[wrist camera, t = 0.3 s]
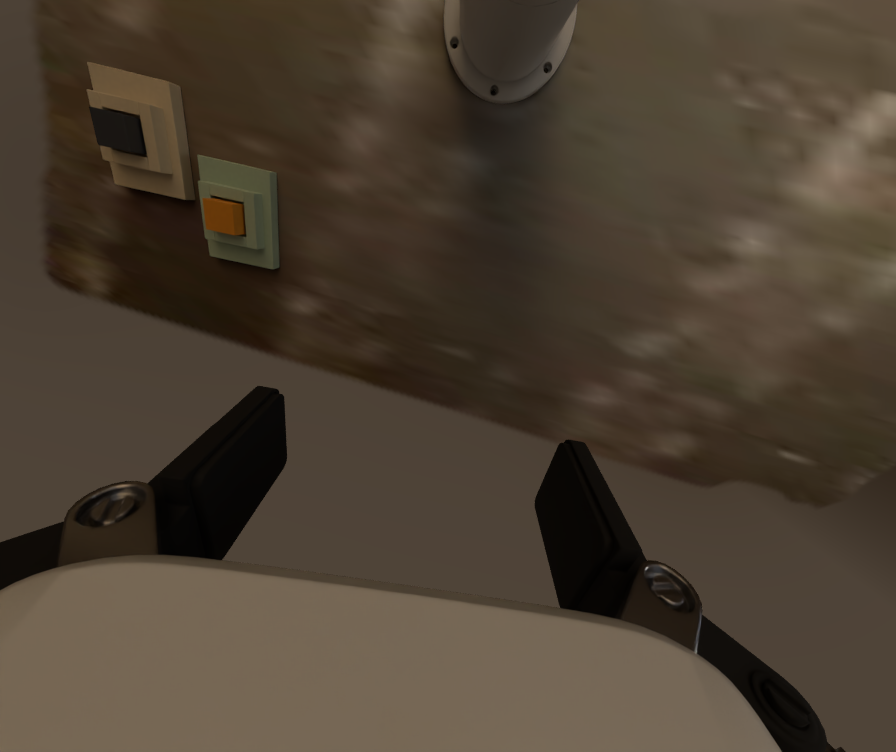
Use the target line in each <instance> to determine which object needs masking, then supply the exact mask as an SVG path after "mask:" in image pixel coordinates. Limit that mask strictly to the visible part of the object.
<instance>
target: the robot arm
mask: <svg viewBox="0 0 896 752" xmlns="http://www.w3.org/2000/svg"><path fill="white" fill-rule="evenodd" d="M578 1H579V0H445V4H444V17H443V19H444V34H445V42H446V47H447V51H448V54H449V58H450V61H451V63H452V65H453V68H454V70H455V72H456V74H457V75H458V77H459V78H460V80H461V81H462V83H463V84H464V85H465V86H466V87H467V88H468V89H469V90H470V91H471V92H472V93H473V94H475V95H476V96H478V97H480V98H481V99H483V100H486V101H489V102H492V103H498V104H508V103H514V102H518V101H520V100H523V99H525V98H528V97H529V96H531V95H532V94H534V93H535V92H537V91H538V90H539V89H540V88H541V87H542V86H543V85H544V84H545V83H546V82H547V81H548V80H549V79H550V78H551V77H552V75H553V74H554V73H555V71H556V70H557V68H558V66H559V65H560V63H561V62H562V60H563V58H564V56H565V54H566V51H567V49H568V47H569V44H570V41H571V38H572V34H573V31H574V27H575V20H576V13H577V3H578ZM453 44H457V48H456V49H454V48H452V45H453ZM544 68H547V69H548V73H545V72H544ZM492 90H495V92H496V94H495V95H492V94H491V91H492ZM286 460H287V446H286V426H285V405H284V396H283V395H282V394H279V391H278V390H277V389H274V388H268V387H263V386H257V387H256V388H255V389H253V390H252V391H251V392H250V393H249V394H248V395H247V396H246V397H244V398H243V399H242V400H241V401H240V402H239V403H238V404H237V405H236V406H234V407H233V408H232V409H231V410H230V411H229V412H228V413H227V414H226V415H225V416H223V417H222V418H221V419H220V420H219V421H218V422H217V423H215V424H214V425H212V426H211V427H210V428H209V429H208V430H207V431H206V432H205V433H203V434H202V435H201V436H200V437H199V438H198V439H197V440H196V441H195V442H194V443H192V444H191V445H190V446H189V447H188V448H187V449H186V450H184V451H183V452H182V453H181V454H180V455H179V456H178V457H177V458H175V459H174V460H173V461H172V462H171V463H170V464H169V465H168V466H166V467H165V468H164V469H163V470H162V471H161V472H160V473H159V474H158V475H156V476H155V477H154V478H153V479H152V480H151V481H150V482H149V483H143V482H139V481H125V482H119V483H114V484H111V485H108V486H105V487H102V488H99V489H97V490H95V491H93V492H91V493H89V494H87V495H86V496H84V497H83V498H81V499H80V500H79V501H77V502H76V503H75V504H74V505H73V506H72V507H71V508H70V509H69V510H68V512H67V514H66V517H65V519H64V522H61V523H58V524H55V525H52V526H49V527H46V528H42V529H40V530H36V531H33V532H30V533H27V534H24V535H21V536H18V537H15V538H12V539H10V540H6V541H3V542H0V752H845V751H844V749H842V748H841V747H839V748H837V749H834V748H833V747H832V746H831V745H830V744H829V743H828V742H827V739H826V735H825V730H824V728H823V726H822V725H821V722H820V720H819V718H818V717H817V715H816V713H815V712H814V711H813V709H812V708H811V706H810V705H809V703H808V702H807V701H806V700H805V699H804V698H803V696H802V695H801V694H800V693H799V692H798V691H797V690H796V689H795V688H794V687H793V686H792V685H791V684H790V683H788V682H787V681H786V680H785V679H784V678H783V677H782V676H780V675H779V674H778V673H776V672H775V671H774V670H773V669H771V668H770V667H769V666H767V665H766V664H765V663H764V662H762V661H761V660H760V659H758V658H757V657H756V656H755V655H753V654H752V653H751V652H749V651H748V650H747V649H745V648H744V647H743V646H742V645H740V644H739V643H738V642H737V641H735V640H734V639H733V638H731V637H730V636H729V635H728V634H726V633H725V632H724V631H722V630H721V629H720V628H719V627H717V626H716V625H715V624H713V623H712V622H711V621H710V620H708V619H707V618H706V617H704V616H703V615H702V603H701V601H700V598H699V596H698V594H697V592H696V591H695V589H694V588H693V587H692V585H691V584H690V583H689V582H688V581H687V580H686V579H685V578H684V577H683V576H682V575H681V574H680V573H678V572H677V571H676V570H675V569H673V568H671V567H669V566H668V565H666V564H664V563H661V562H658V561H651V560H648V561H647V560H646V558H645V556H644V555H643V553H642V549H641V547H640V545H639V543H638V542H637V540H636V538H635V536H634V534H633V532H632V530H631V528H630V527H629V525H628V523H627V521H626V519H625V517H624V515H623V513H622V511H621V510H620V508H619V506H618V504H617V502H616V500H615V498H614V497H613V494H612V493H611V491H610V489H609V487H608V485H607V483H606V481H605V480H604V478H603V476H602V474H601V472H600V470H599V468H598V466H597V464H596V462H595V461H594V459H593V457H592V455H591V453H590V451H589V449H588V447H587V446H586V444H585V443H584V442H579V441H573V440H566V441H565V442H564V443H560V444H559V445H558V448H557V450H556V452H555V455H554V457H553V459H552V461H551V464H550V466H549V468H548V471H547V473H546V475H545V477H544V480H543V482H542V484H541V486H540V489H539V491H538V494H537V496H536V499H535V510H536V514H537V517H538V522H539V526H540V530H541V534H542V538H543V542H544V546H545V550H546V554H547V558H548V562H549V566H550V570H551V574H552V578H553V582H554V586H555V590H556V594H557V598H558V602H559V605H560V608H557V607H550V606H544V605H539V604H532V603H525V602H518V601H512V600H505V599H498V598H491V597H484V596H477V595H471V594H464V593H458V592H451V591H444V590H437V589H430V588H423V587H415V586H408V585H402V584H394V583H388V582H381V581H374V580H366V579H359V578H352V577H345V576H338V575H331V574H323V573H316V572H308V571H301V570H294V569H287V568H279V567H272V566H264V565H257V564H249V563H241V562H232V561H223V560H222V559H223V558H224V556H225V555H226V553H227V552H228V550H229V549H230V548H231V546H232V545H233V543H234V542H235V540H236V539H237V537H238V536H239V534H240V533H241V531H242V530H243V528H244V527H245V525H246V524H247V522H248V521H249V519H250V518H251V516H252V515H253V513H254V512H255V510H256V509H257V507H258V506H259V504H260V502H261V501H262V500H263V498H264V497H265V495H266V494H267V492H268V491H269V489H270V488H271V486H272V485H273V483H274V482H275V480H276V479H277V477H278V476H279V474H280V473H281V471H282V470H283V468H284V466H285V464H286Z"/></svg>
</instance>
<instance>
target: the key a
mask: <svg viewBox="0 0 896 752" xmlns="http://www.w3.org/2000/svg"><path fill="white" fill-rule="evenodd" d="M89 108H90V113H91V117H92V121H93V125H94V130H95V134H96V138H97V142H98V145H101V146H106V147H110V148H114V149H119V150H123V151H127V152H132V153H139V154H145V155H147V152H146V146H145V141H144V135H143V130H142V124H141V119H139V118H135V117H132V116H128V115H124V114H120V113H116V112H112V111H108V110H103V109H99V108H95V107H91V106H90V107H89Z"/></svg>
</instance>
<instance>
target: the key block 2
mask: <svg viewBox="0 0 896 752" xmlns="http://www.w3.org/2000/svg"><path fill="white" fill-rule="evenodd" d="M197 157H198V165H199V173H200V181H198V187H199V194H200V202H201V210H202V218H203V226H204V234H205V239H208V246H209V254H210V256H212V257H217V258H221V259H226V260H231V261H236V262H240V263H245V264H250V265H254V266H259V267H264V268H268V269H276V268H279V239H278V206H277V173H276V172H272V171H267V170H263V169H259V168H254V167H250V166H246V165H242V164H237V163H233V162H229V161H224V160H220V159H216V158H211V157H207V156H202V155H197ZM202 198H216V199H221V200H225V201H230V202H234V203H239V204H243V205H244V219H245V232H246V234H243V235H235V236H234V235H230V234H225V233H221V232H216V231H211V230H207V229H206V224H205V216H204V208H203V200H202Z"/></svg>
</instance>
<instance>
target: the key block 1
mask: <svg viewBox="0 0 896 752" xmlns="http://www.w3.org/2000/svg"><path fill="white" fill-rule="evenodd" d="M87 64H88V68H89V73H90V77H91V81H92V86H93V90H94V91H92V90H88V89H87V94H88V98H89V102H90V106H91V107H95V108H99V109H103V110H108V111H112V112H116V113H120V114H124V115H128V116H132V117H135V118H139V119H141V124H142V130H143V135H144V141H145V146H146V152H147V155H145V154H139V153H132V152H127V151H123V150H119V149H114V148H110V147H106V146H101V145H100V149H101V153H102V157H103V160H106V161H110V165H111V169H112V173H113V178H114V182H115V184H116V185H121V186H125V187H130V188H134V189H139V190H143V191H148V192H152V193H156V194H161V195H165V196H170V197H174V198H179V199H183V200H195V193H194V186H193V178H192V171H191V163H190V156H189V148H188V140H187V133H186V125H185V118H184V110H183V103H182V95H181V88H180V86H178V85H175V84H173V83H170V82H168V81H164V80H160V79H156V78H152V77H148V76H143V75H139V74H135V73H131V72H127V71H123V70H119V69H115V68H111V67H107V66H103V65H99V64H95V63H91V62H87Z"/></svg>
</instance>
